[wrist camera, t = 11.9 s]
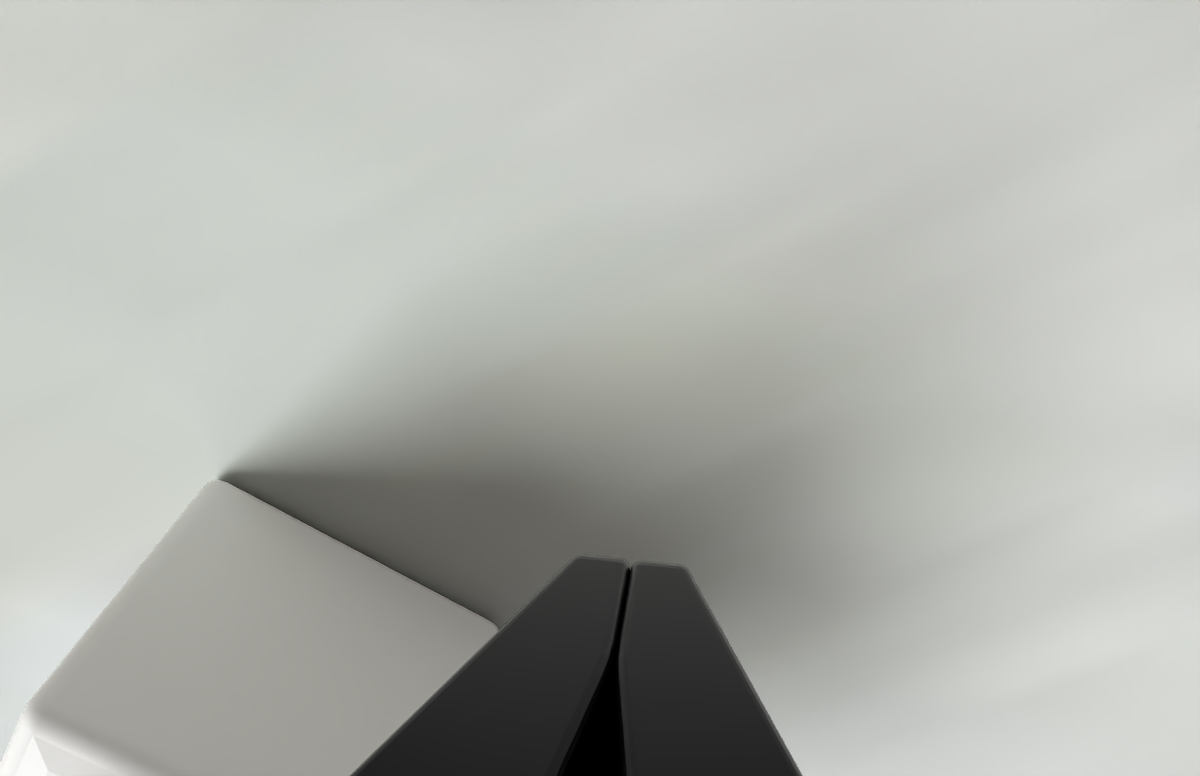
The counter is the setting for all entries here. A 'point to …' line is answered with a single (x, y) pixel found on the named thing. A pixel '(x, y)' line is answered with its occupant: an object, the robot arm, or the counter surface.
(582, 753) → the robot arm
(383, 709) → the medicine bottle
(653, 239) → the counter surface
